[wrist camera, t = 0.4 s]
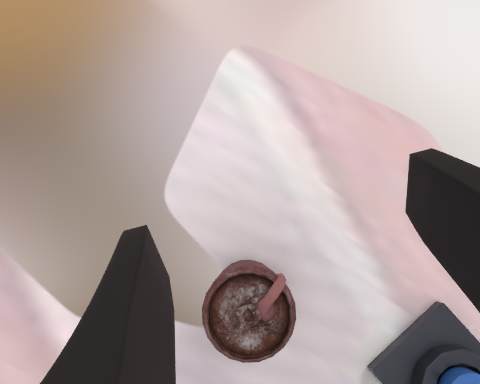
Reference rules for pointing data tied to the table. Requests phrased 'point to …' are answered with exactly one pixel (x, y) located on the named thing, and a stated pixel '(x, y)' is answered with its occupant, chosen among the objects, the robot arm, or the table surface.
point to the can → (249, 312)
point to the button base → (428, 350)
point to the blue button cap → (460, 376)
